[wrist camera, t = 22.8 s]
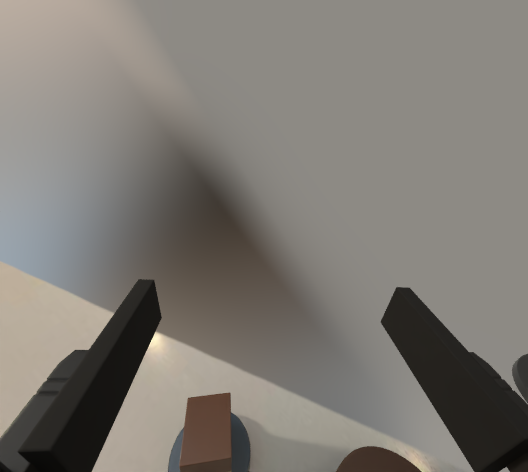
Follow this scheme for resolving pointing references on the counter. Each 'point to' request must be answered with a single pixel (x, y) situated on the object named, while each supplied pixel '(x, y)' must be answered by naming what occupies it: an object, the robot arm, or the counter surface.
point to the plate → (238, 446)
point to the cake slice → (207, 435)
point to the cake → (375, 461)
